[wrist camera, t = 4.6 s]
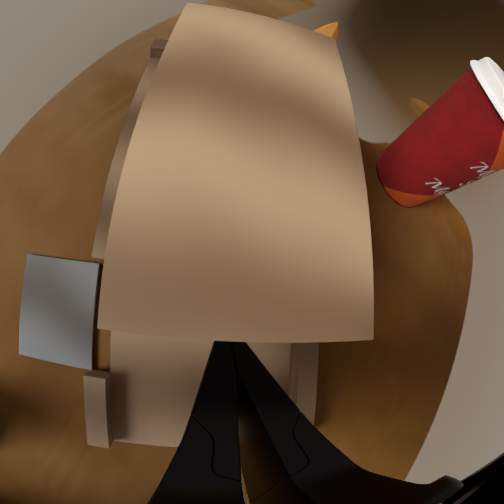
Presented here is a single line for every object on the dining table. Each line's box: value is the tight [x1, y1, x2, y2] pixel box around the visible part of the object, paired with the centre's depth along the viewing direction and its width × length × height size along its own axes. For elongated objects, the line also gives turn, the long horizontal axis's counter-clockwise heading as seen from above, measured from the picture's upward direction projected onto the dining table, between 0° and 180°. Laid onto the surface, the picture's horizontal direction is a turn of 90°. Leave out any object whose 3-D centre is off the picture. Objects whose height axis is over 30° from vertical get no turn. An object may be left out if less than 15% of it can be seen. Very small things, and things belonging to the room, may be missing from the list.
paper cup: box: [377, 57, 504, 207], centre depth 17 cm, size 8×8×14 cm
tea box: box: [97, 3, 374, 343], centre depth 12 cm, size 13×7×9 cm, turn 177°
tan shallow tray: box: [19, 39, 319, 448], centre depth 16 cm, size 26×22×3 cm
